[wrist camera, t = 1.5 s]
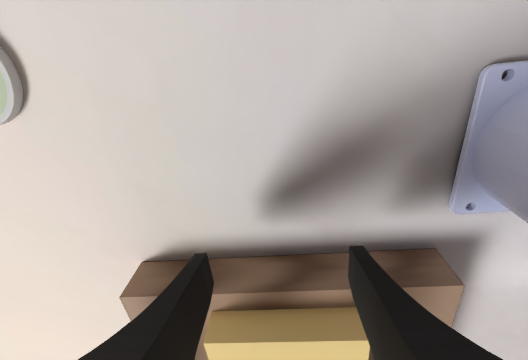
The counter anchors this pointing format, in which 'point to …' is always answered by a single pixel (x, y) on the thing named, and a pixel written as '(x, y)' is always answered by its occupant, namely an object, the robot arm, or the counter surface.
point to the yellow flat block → (287, 335)
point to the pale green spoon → (9, 89)
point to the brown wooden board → (301, 283)
